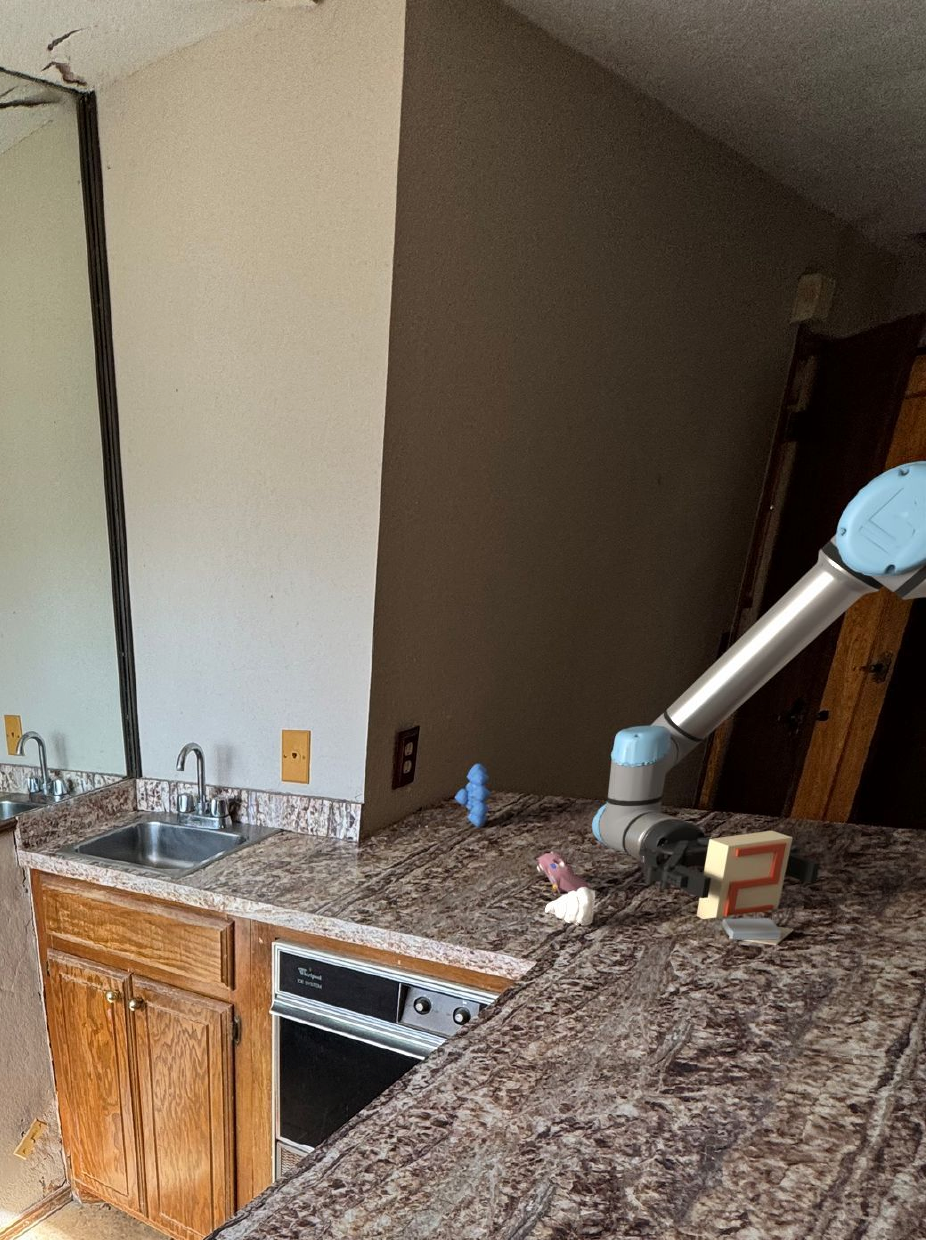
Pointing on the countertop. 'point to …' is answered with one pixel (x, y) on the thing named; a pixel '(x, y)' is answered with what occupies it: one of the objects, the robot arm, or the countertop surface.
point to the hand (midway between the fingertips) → (760, 881)
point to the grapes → (475, 795)
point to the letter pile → (755, 930)
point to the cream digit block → (744, 873)
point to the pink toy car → (560, 873)
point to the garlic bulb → (574, 906)
